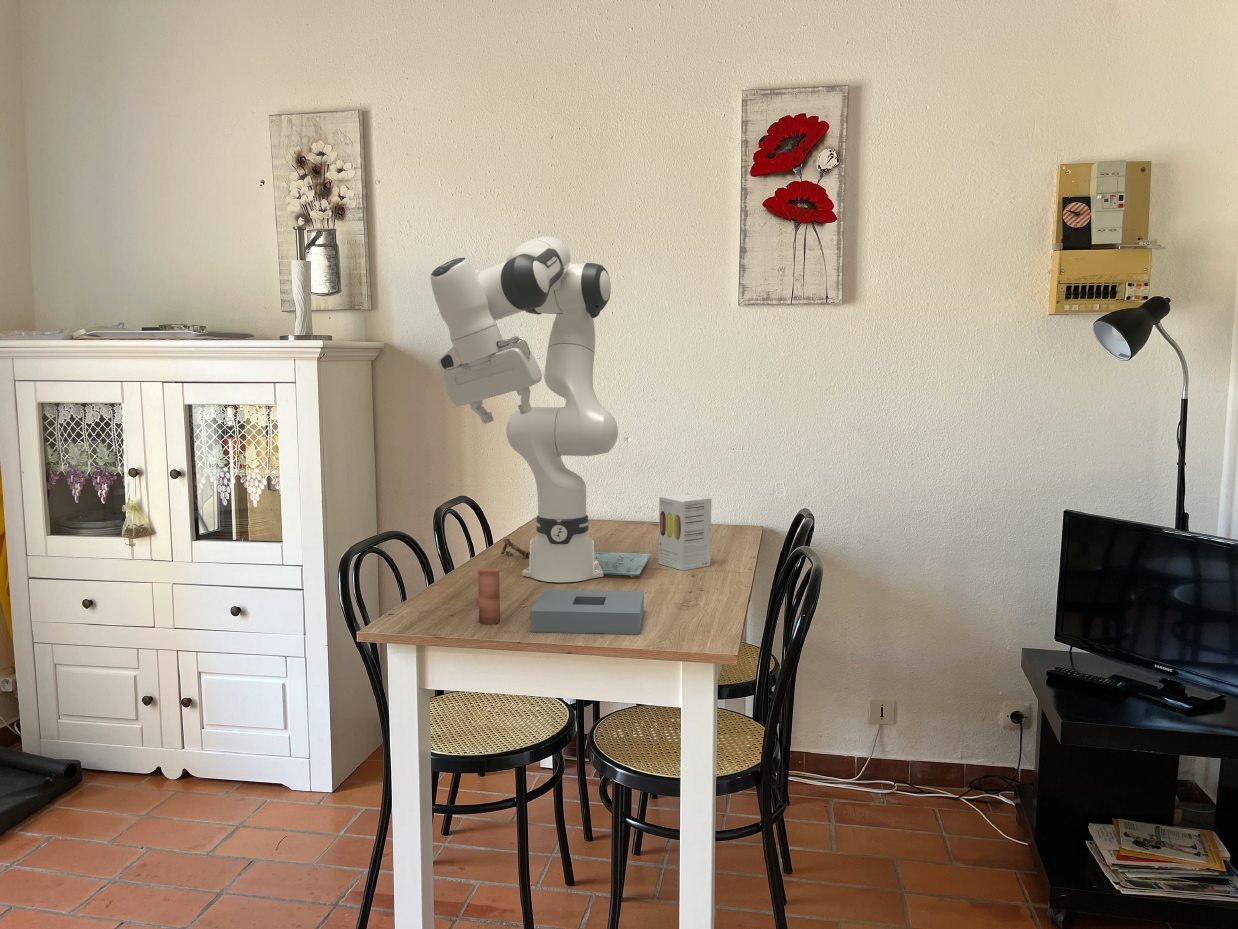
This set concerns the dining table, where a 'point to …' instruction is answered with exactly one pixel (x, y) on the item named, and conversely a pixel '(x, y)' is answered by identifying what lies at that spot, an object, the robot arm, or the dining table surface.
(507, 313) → the robot arm
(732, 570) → the dining table surface
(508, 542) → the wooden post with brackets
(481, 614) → the pin
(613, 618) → the socket block
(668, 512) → the supplement box
